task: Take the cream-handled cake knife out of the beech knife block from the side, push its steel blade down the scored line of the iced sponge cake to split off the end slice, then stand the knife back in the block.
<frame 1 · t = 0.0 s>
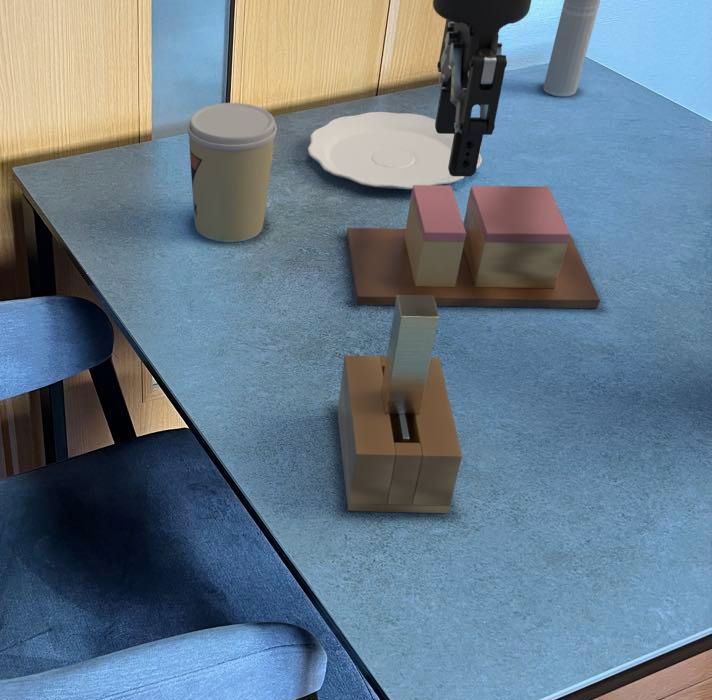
hand: (453, 152, 90), 17 cm above the table, tool pointing down, fingers open, 8 cm apart
cake: (475, 270, 108), on the table
plate: (392, 161, 127), on the table
cake slice: (428, 261, 108), point 1 cm above the table, touching cake
coffee cup: (229, 227, 116), on the table
knife: (391, 450, 86), point 1 cm above the table, touching knife block
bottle: (559, 92, 142), on the table
knife block: (389, 459, 87), on the table
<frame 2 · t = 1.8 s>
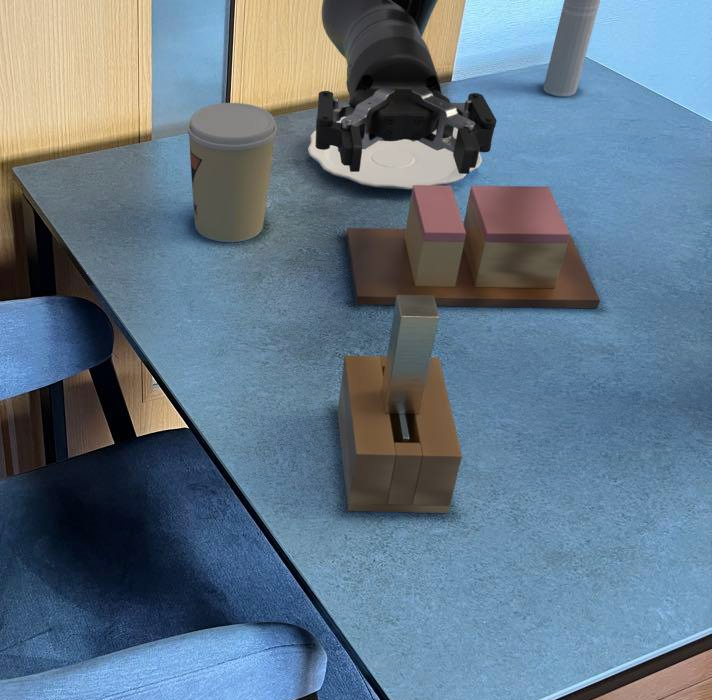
hand: (411, 161, 80), 21 cm above the table, tool horizontal, fingers open, 8 cm apart
nothing on the table moved.
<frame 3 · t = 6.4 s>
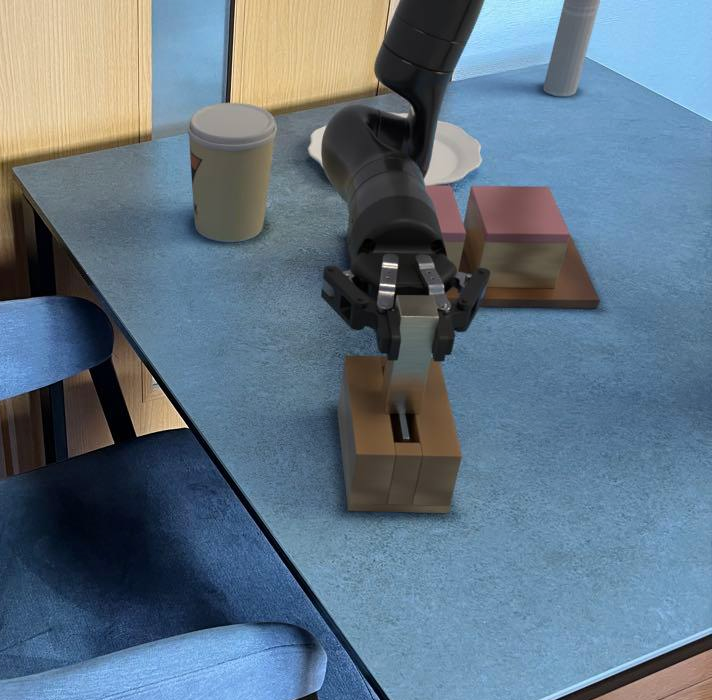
hand: (418, 350, 76), 13 cm above the table, tool horizontal, fingers closed on knife, 3 cm apart
knife: (391, 450, 86), point 1 cm above the table, touching gripper, knife block
everything else where it was.
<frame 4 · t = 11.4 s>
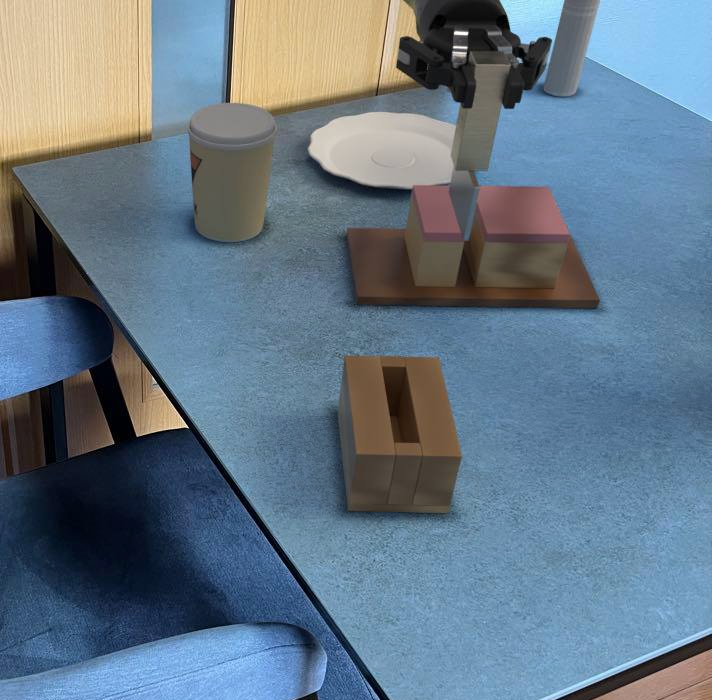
hand: (491, 96, 84), 23 cm above the table, tool horizontal, fingers closed on knife, 3 cm apart
knife: (458, 216, 94), point 11 cm above the table, touching gripper
everything else where it was.
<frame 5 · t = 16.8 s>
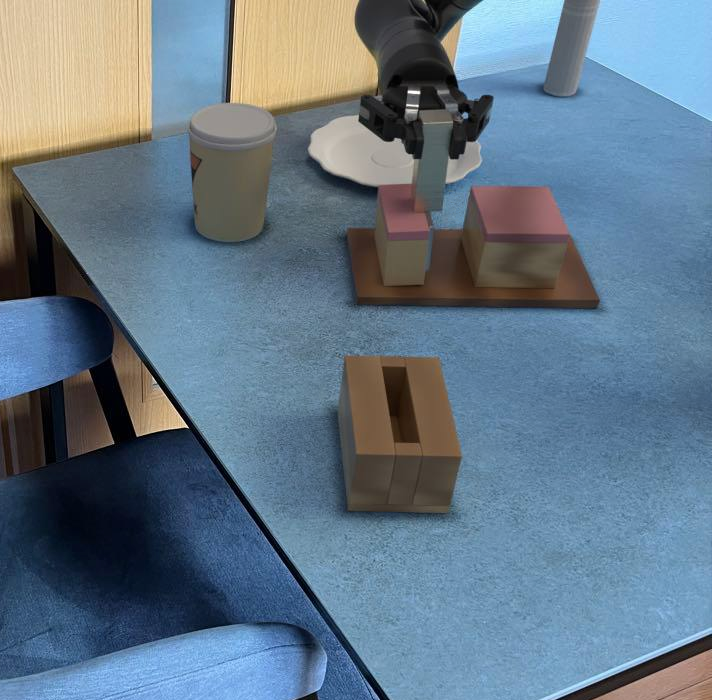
hand: (438, 149, 97), 14 cm above the table, tool horizontal, fingers closed on knife, 3 cm apart
cake slice: (398, 260, 108), point 1 cm above the table, touching cake, knife
knife: (420, 249, 107), point 2 cm above the table, touching cake slice, gripper
everything else where it was.
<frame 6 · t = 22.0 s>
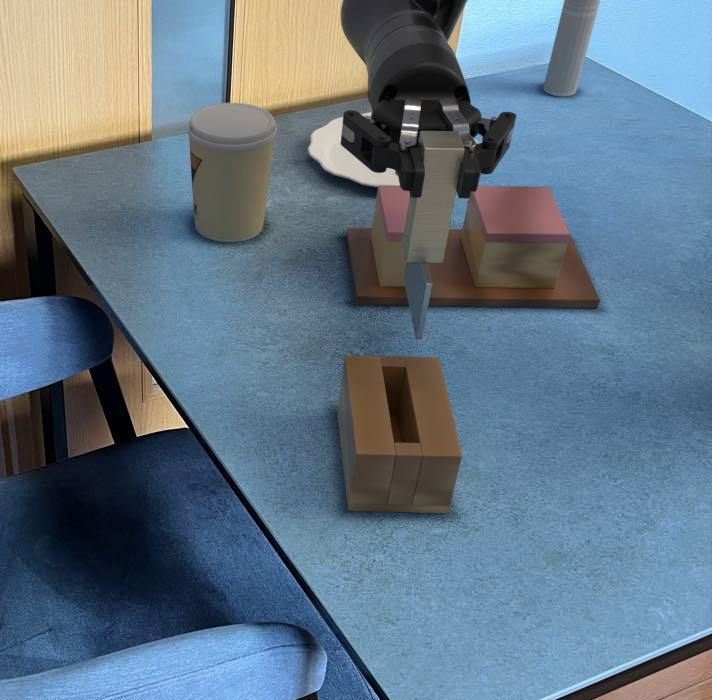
hand: (442, 185, 73), 23 cm above the table, tool horizontal, fingers closed on knife, 3 cm apart
cake slice: (394, 261, 108), point 1 cm above the table, touching cake
knife: (412, 308, 84), point 11 cm above the table, touching gripper
everything else where it was.
when the fingers open (13 cm above the table, at t = 26.6 s): knife stays where it is, resting on knife block.
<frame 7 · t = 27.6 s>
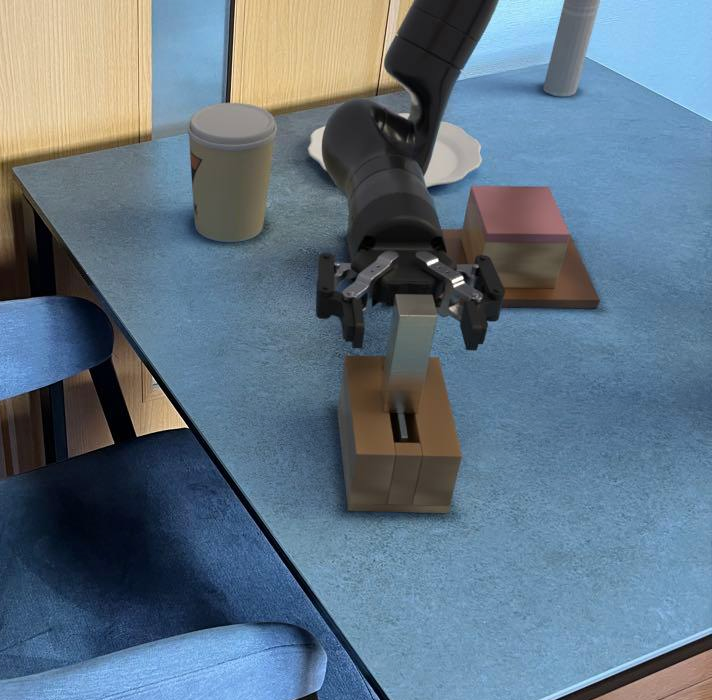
hand: (416, 339, 77), 13 cm above the table, tool horizontal, fingers open, 8 cm apart
knife: (390, 449, 86), point 1 cm above the table, touching knife block
everything else where it was.
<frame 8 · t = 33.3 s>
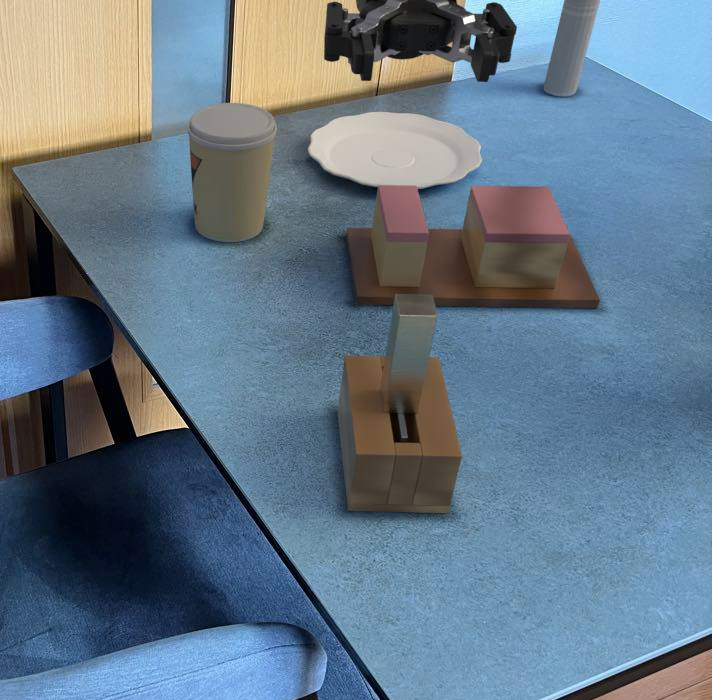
hand: (427, 68, 75), 28 cm above the table, tool horizontal, fingers open, 8 cm apart
nothing on the table moved.
at the end: cake slice moved 3.6 cm from its start; knife 0.1 cm off-centre on the knife block, point 1.0 cm above the knife block's base; knife tilted 0° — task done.
